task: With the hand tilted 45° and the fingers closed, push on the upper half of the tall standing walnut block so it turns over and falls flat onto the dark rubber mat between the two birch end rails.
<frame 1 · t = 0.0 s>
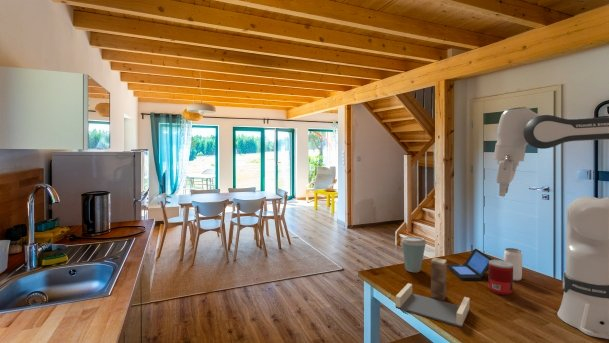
hand: (503, 194, 109), 39 cm above the table, tool pointing down, fingers open, 8 cm apart
can: (512, 278, 132), on the table
canned food: (500, 291, 121), on the table
handheld game console: (468, 274, 138), on the table
walnut block: (438, 296, 116), on the table
disposable coffee cup: (413, 270, 143), on the table
rubber mat with end rails: (432, 308, 108), on the table
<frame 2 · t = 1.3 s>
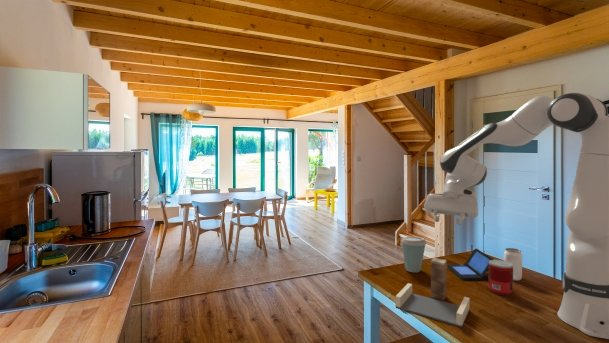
hand: (447, 222, 124), 26 cm above the table, tool tilted 45°, fingers open, 7 cm apart
nothing on the table moved.
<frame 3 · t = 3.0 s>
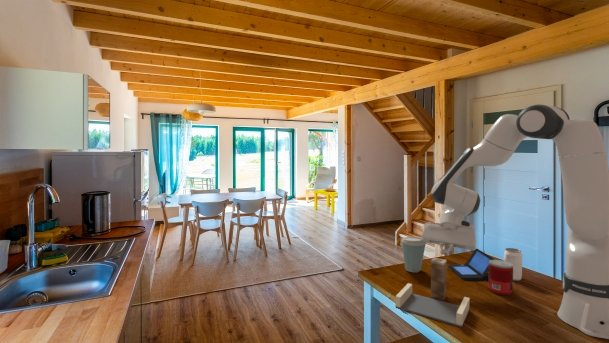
hand: (444, 254, 123), 13 cm above the table, tool tilted 45°, fingers closed
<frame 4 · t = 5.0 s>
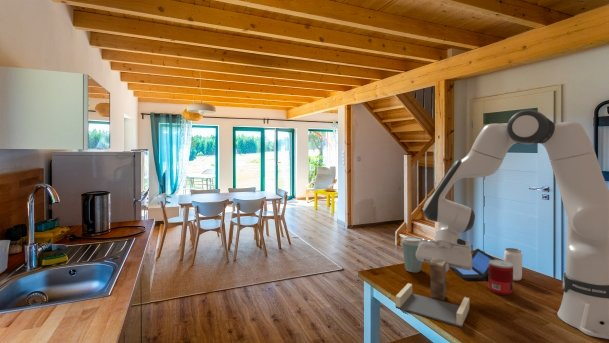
hand: (439, 274, 117), 8 cm above the table, tool tilted 45°, fingers closed
walnut block: (438, 296, 116), on the table, tilted 7°
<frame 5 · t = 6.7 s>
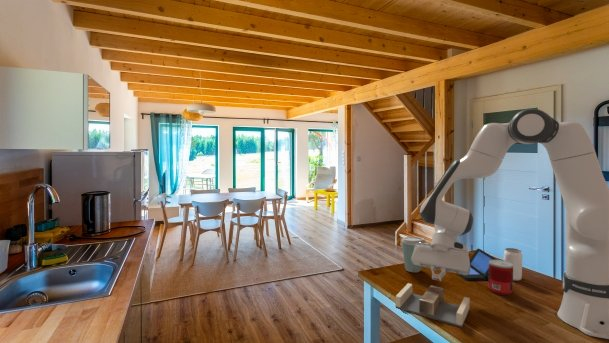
hand: (436, 279, 113), 8 cm above the table, tool tilted 45°, fingers closed
walnut block: (437, 292, 114), point 3 cm above the table, tilted 90°, touching rubber mat with end rails
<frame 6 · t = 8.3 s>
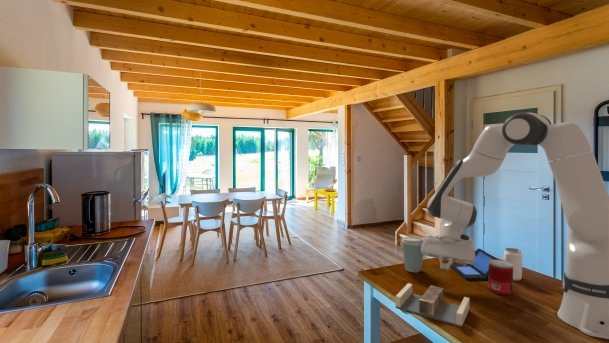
hand: (444, 268, 123), 8 cm above the table, tool tilted 45°, fingers closed
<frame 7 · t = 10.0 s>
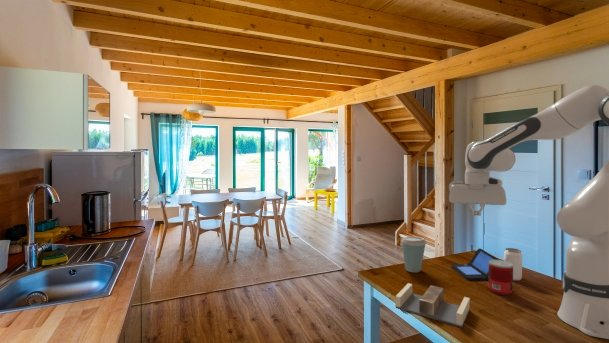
hand: (476, 215, 125), 28 cm above the table, tool pointing down, fingers closed
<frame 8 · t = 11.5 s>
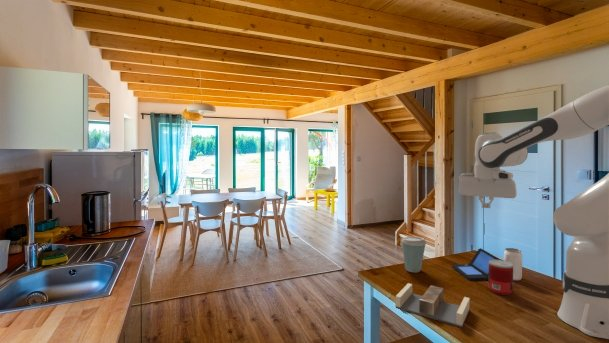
hand: (486, 207, 126), 31 cm above the table, tool pointing down, fingers closed
at the end: walnut block tilted 90°; walnut block inside the target area (5.0 cm from its centre), point 2.6 cm above the table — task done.
